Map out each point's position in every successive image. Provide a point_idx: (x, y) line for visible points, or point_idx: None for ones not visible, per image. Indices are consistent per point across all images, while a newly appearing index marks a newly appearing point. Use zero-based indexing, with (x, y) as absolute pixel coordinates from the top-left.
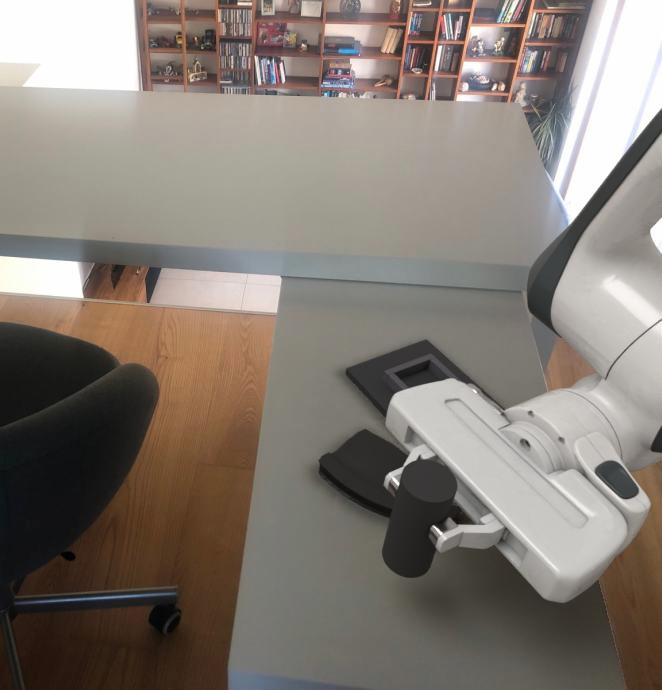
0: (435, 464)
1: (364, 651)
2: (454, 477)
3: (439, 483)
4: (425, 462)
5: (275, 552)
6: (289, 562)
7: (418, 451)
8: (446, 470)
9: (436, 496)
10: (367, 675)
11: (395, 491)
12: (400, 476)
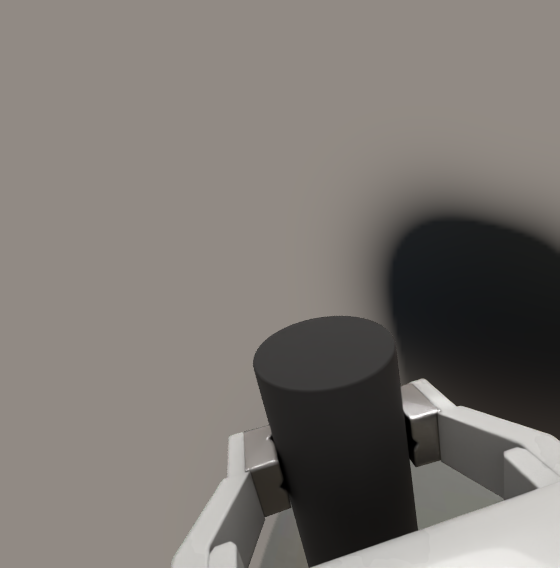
0: (375, 361)
1: (300, 564)
2: (317, 388)
3: (305, 358)
4: (381, 344)
5: (451, 476)
6: (437, 491)
7: (540, 446)
8: (348, 376)
9: (270, 349)
10: (271, 556)
11: None
12: (415, 394)
